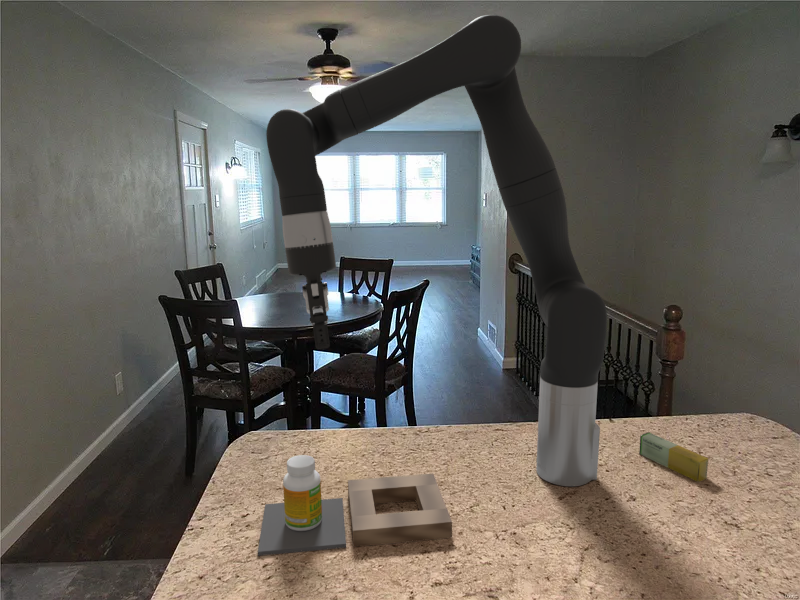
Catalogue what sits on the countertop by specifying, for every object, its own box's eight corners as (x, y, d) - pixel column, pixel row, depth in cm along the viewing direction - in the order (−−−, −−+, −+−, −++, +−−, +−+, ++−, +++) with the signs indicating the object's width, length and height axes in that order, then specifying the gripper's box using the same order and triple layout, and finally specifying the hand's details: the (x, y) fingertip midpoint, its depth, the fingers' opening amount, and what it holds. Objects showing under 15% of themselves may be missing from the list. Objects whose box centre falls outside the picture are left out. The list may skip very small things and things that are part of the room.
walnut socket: (433, 487, 98) (433, 473, 97) (452, 537, 84) (452, 521, 84) (348, 494, 96) (347, 480, 95) (353, 546, 82) (353, 530, 82)
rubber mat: (342, 501, 94) (342, 497, 94) (346, 547, 82) (346, 543, 82) (265, 507, 92) (265, 504, 92) (257, 555, 81) (257, 551, 80)
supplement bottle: (315, 534, 84) (312, 471, 82) (279, 530, 85) (275, 468, 83) (327, 513, 89) (324, 454, 87) (293, 509, 90) (290, 451, 88)
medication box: (637, 454, 109) (638, 434, 108) (647, 451, 110) (648, 431, 109) (698, 483, 98) (700, 461, 98) (708, 479, 100) (710, 457, 99)
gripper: (334, 241, 87) (348, 348, 89) (331, 239, 101) (343, 332, 103) (282, 247, 86) (298, 356, 88) (286, 244, 100) (300, 338, 102)
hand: (322, 343), depth 95 cm, fingers open, 8 cm apart
